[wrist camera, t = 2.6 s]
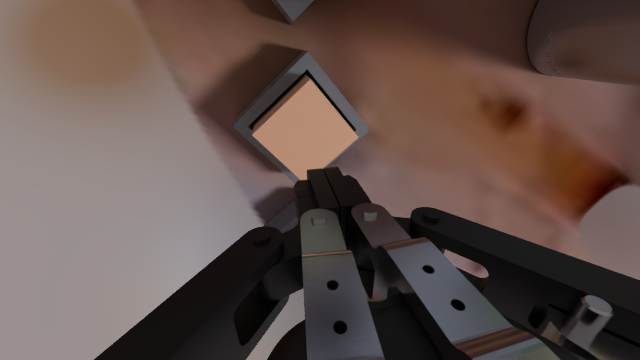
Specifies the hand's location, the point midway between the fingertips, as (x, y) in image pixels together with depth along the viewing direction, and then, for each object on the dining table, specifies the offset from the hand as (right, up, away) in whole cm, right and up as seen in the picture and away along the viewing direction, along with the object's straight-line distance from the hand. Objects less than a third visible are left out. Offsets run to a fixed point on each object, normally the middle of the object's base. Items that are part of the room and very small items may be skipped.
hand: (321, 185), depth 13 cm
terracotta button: (-1, +5, +8) cm, 10 cm away
